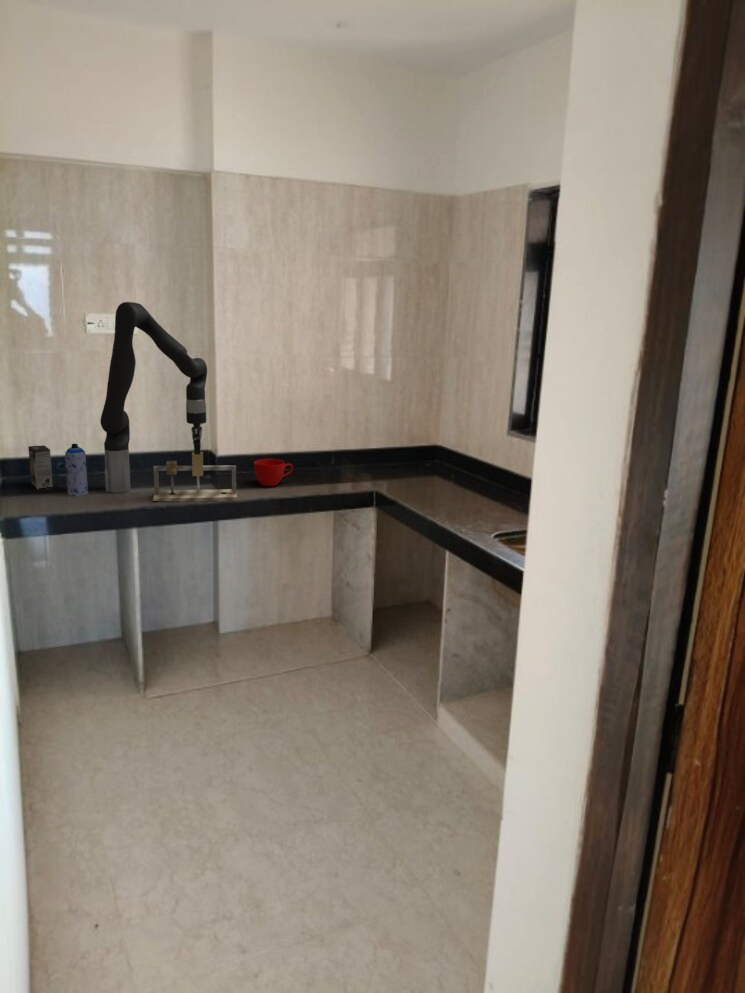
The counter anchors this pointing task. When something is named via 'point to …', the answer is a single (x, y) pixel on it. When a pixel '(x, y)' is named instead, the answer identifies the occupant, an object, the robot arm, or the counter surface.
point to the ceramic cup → (270, 471)
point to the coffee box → (40, 466)
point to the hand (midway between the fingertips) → (197, 451)
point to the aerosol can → (76, 470)
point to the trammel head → (197, 467)
